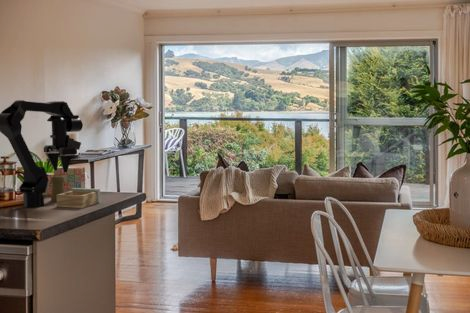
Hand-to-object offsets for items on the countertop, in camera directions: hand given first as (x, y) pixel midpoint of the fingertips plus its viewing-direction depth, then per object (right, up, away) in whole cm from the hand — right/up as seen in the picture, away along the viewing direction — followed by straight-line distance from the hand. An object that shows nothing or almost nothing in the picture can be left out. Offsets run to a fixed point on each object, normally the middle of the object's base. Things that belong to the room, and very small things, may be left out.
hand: (60, 171), depth 229 cm
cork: (-2, -13, +2) cm, 13 cm away
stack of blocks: (-8, -11, +25) cm, 29 cm away
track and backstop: (+8, -14, -10) cm, 19 cm away
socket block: (+9, -13, -8) cm, 18 cm away
